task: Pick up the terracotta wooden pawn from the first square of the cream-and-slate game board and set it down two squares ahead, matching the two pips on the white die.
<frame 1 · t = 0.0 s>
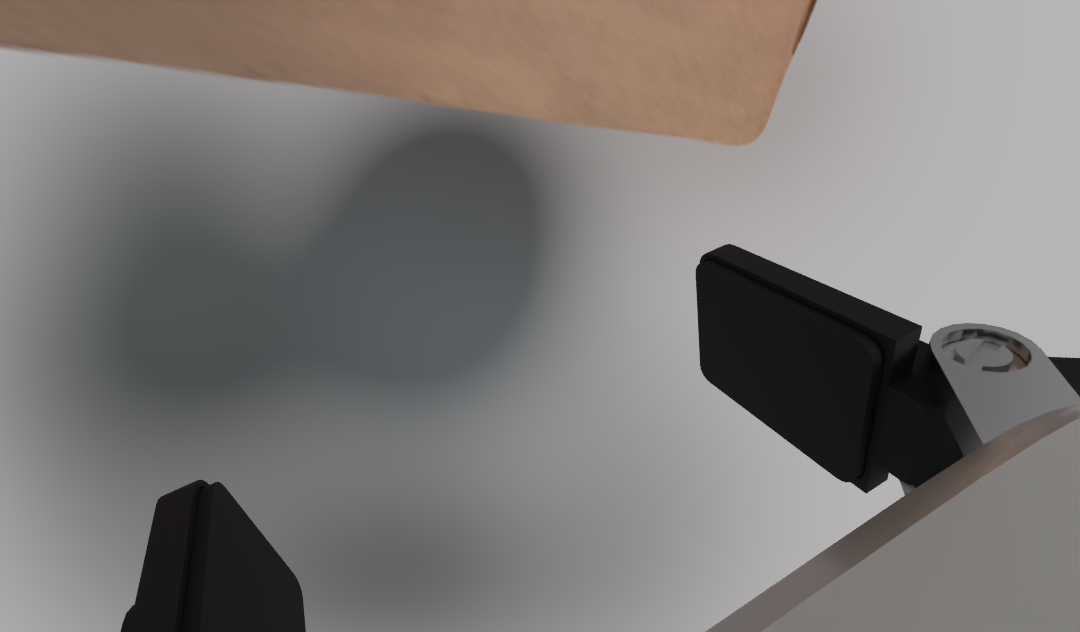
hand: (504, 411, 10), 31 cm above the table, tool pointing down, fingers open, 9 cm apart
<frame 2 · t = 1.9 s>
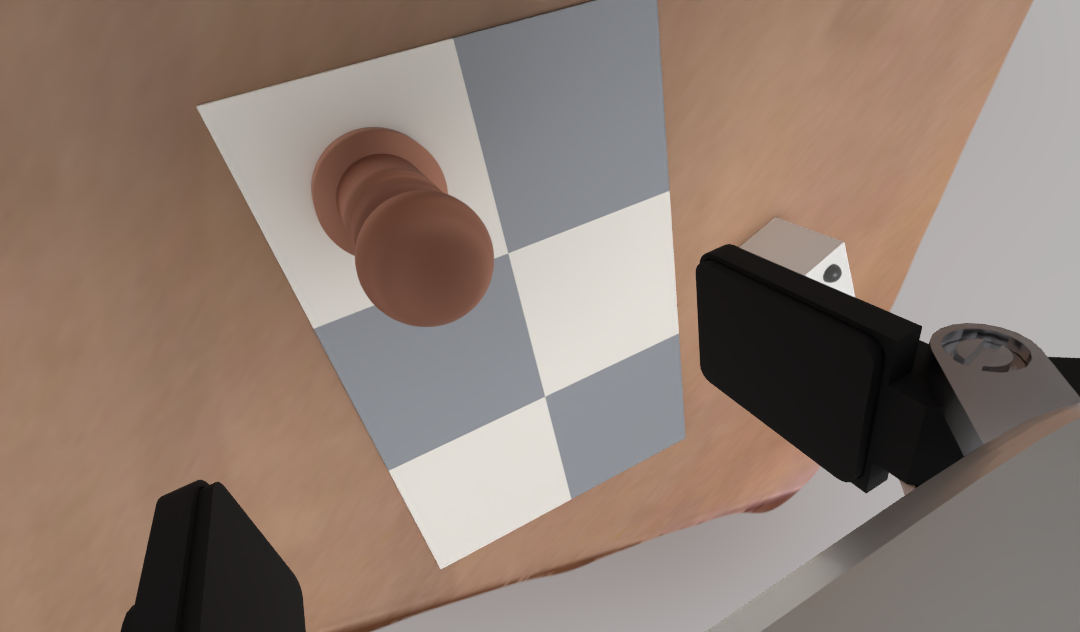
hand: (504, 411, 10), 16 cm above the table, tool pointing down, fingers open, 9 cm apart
pawn: (379, 192, 22), resting on board
board: (525, 328, 29), on the table
die: (754, 269, 35), on the table
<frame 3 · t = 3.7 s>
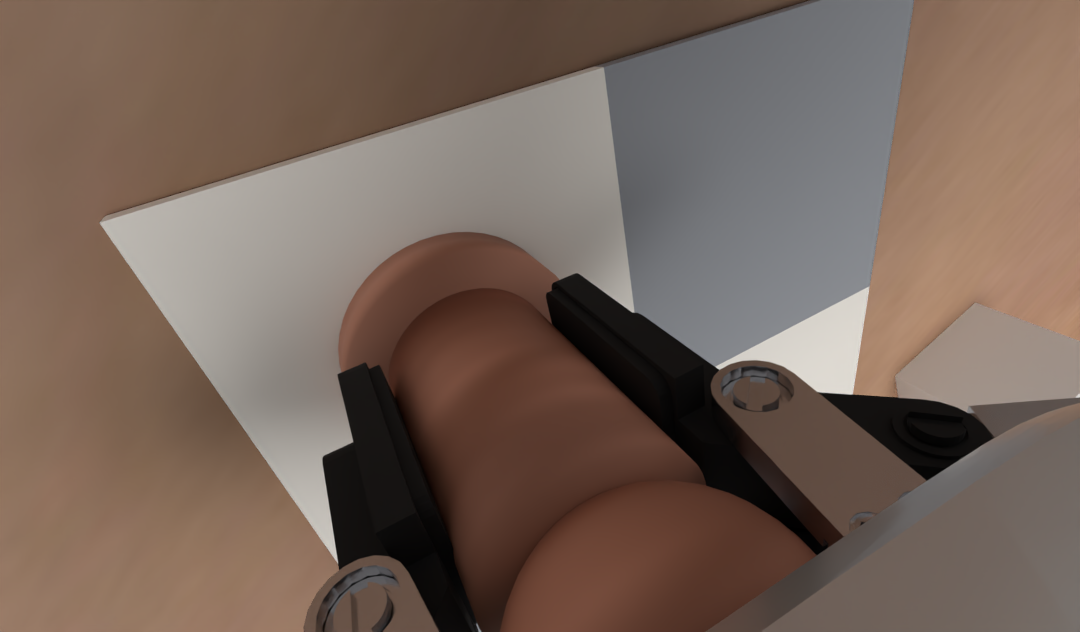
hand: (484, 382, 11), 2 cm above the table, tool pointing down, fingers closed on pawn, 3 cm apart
pawn: (457, 340, 12), resting on board, touching gripper
board: (651, 494, 19), on the table
die: (936, 370, 25), on the table
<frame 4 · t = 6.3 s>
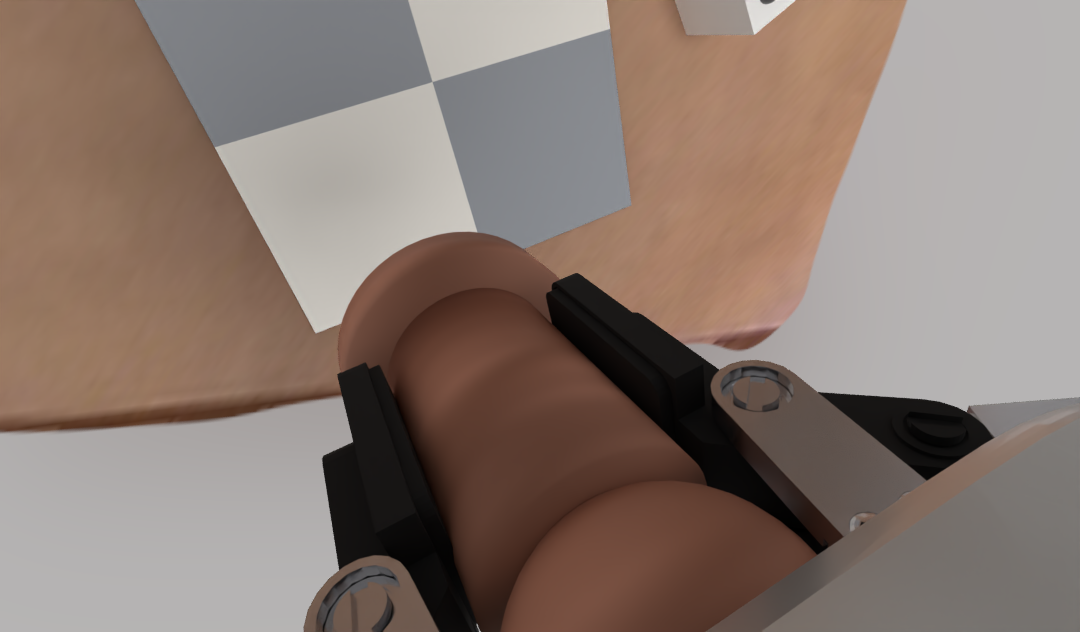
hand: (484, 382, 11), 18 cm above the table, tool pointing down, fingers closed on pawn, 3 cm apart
pawn: (457, 340, 12), point 16 cm above the table, touching gripper
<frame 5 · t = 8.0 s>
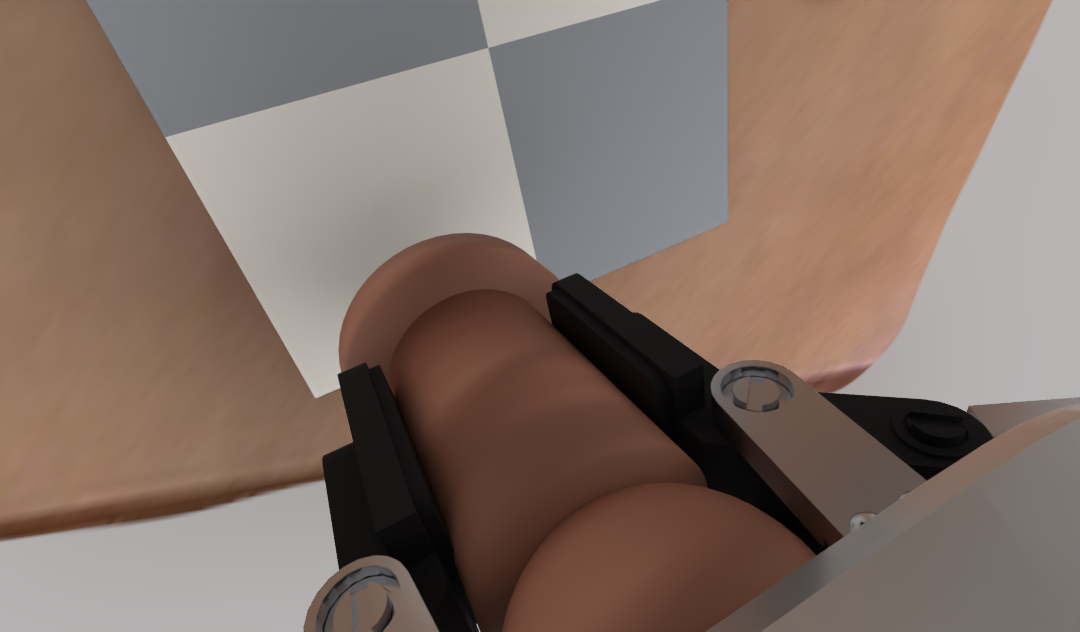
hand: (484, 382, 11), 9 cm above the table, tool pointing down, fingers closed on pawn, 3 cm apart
pawn: (457, 341, 12), point 8 cm above the table, touching gripper
when the fingers open (4 cm above the table, at t = 9.3 s): pawn drops 1 cm, resting on board.
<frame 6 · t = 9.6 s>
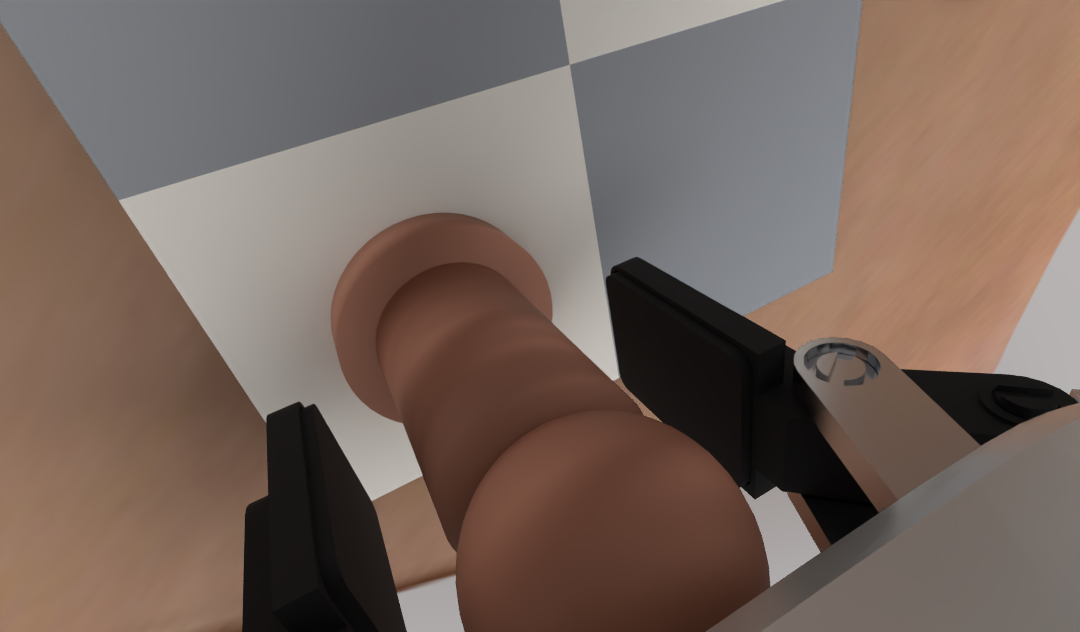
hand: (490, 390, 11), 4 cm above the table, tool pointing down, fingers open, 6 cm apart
pawn: (439, 313, 13), resting on board
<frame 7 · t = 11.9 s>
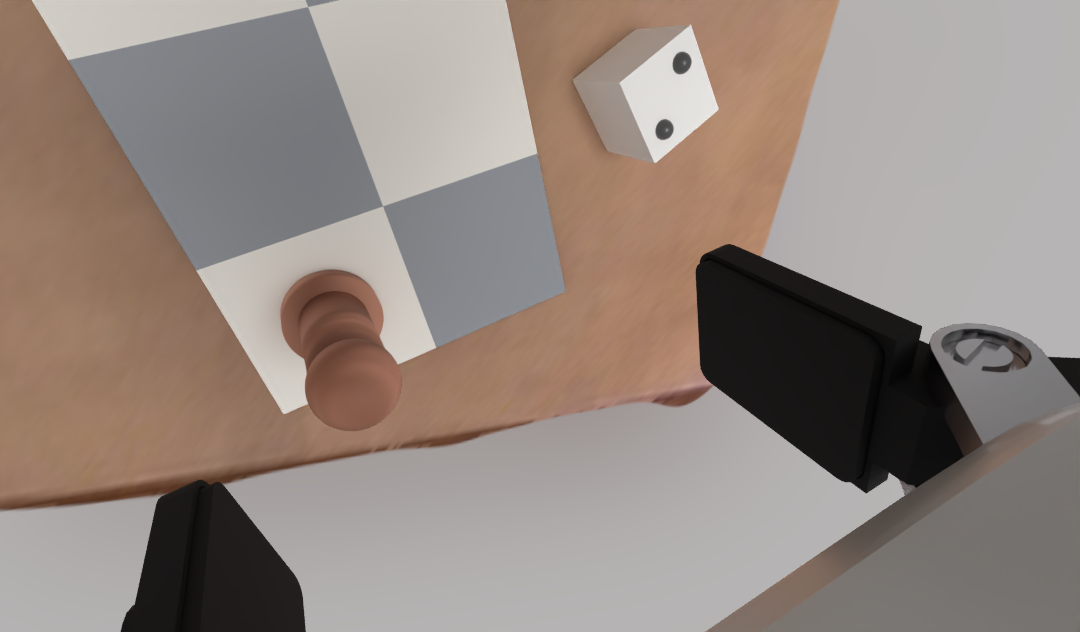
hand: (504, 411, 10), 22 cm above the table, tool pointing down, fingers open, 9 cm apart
pawn: (331, 313, 30), resting on board
board: (347, 115, 27), on the table
die: (620, 92, 33), on the table
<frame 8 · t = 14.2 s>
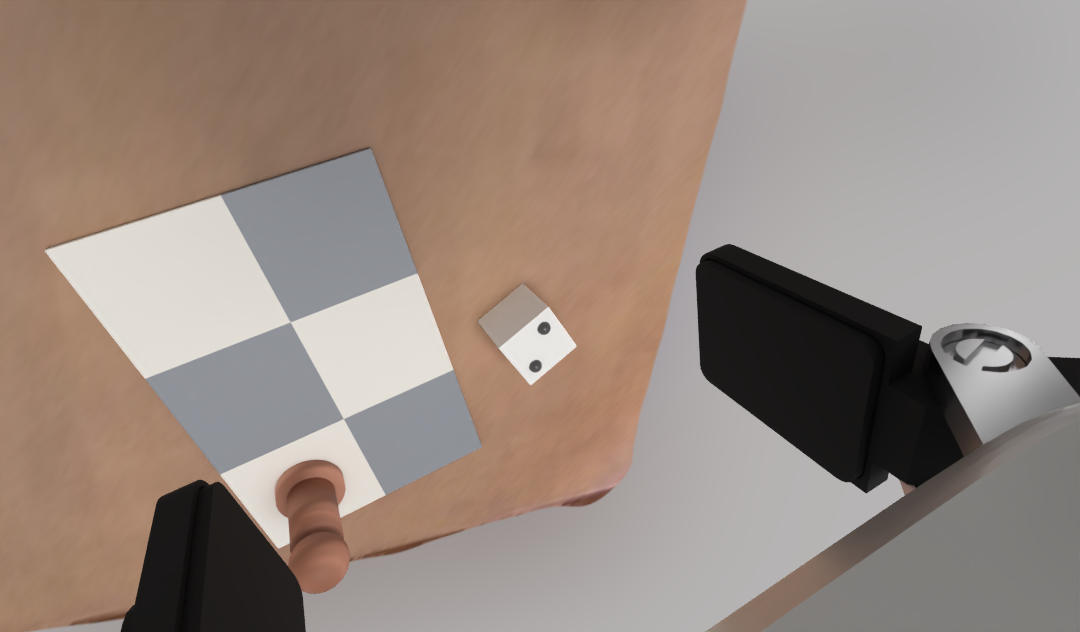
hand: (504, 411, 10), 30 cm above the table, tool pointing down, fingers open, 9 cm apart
pawn: (310, 485, 44), resting on board
board: (318, 371, 40), on the table
die: (514, 320, 46), on the table
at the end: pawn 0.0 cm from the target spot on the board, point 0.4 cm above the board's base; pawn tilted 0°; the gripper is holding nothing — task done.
